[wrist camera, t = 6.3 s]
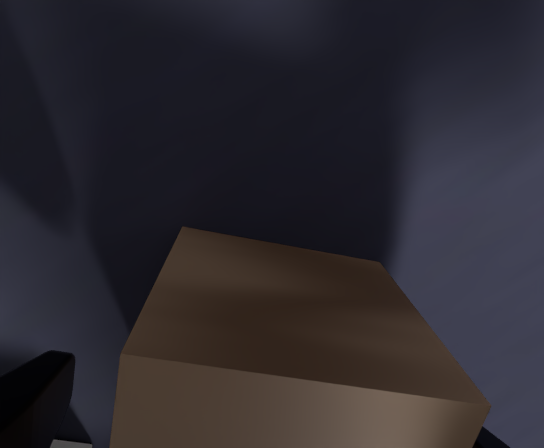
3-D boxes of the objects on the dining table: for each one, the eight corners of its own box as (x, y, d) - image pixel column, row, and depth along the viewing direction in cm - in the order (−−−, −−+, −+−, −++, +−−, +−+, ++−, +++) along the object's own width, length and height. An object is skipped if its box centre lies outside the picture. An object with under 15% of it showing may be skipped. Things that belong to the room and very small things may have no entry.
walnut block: (378, 260, 9) (491, 405, 5) (329, 415, 11) (384, 635, 6) (182, 225, 9) (120, 353, 4) (157, 393, 10) (89, 616, 6)
